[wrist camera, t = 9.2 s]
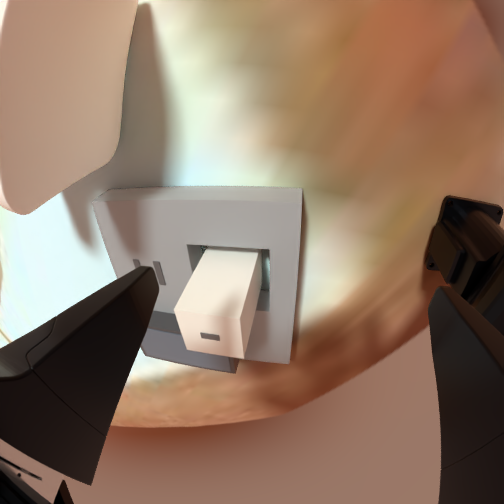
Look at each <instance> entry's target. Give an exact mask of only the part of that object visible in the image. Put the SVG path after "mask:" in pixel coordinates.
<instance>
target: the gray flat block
mask: <svg viewBox="0 0 504 504" xmlns="http://www.w3.org/2000/svg"><path fill="white" fill-rule="evenodd" d="M140 347H141V349H142V351H143V353H144V354H145V356H149V357H153V358H157V359H161V360H165V361H170V362H174V363H179V364H184V365H188V366H194V367H199V368H204V369H210V370H216V371H222V372H228V373H235V374H236V370H237V366H238V362H239V359H240V358H235V357H228V356H221V355H215V354H209V353H203V352H197V351H192V350H187V348H186V345H185V342H184V339H183V337H182V334H181V331H180V328H179V325H178V322H177V318H176V315H175V314H173V313H166V312H160V311H155V310H153V313H152V316H151V319H150V323H149V326H148V329H147V332H146V334H145V337H144V339H143V341H142V344H141V346H140Z"/></svg>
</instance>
